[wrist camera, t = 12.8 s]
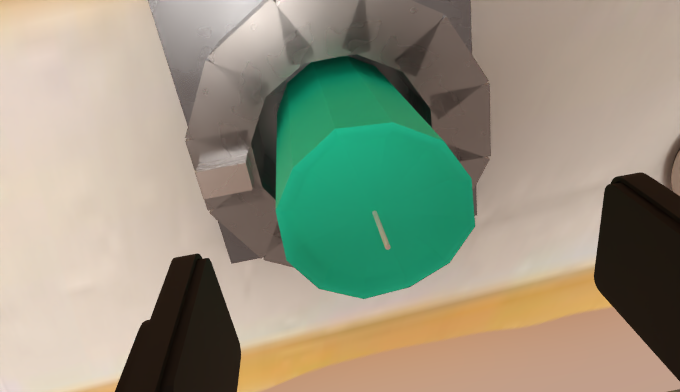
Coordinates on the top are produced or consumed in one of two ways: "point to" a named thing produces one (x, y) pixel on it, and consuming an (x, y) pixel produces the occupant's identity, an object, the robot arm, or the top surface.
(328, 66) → the candle
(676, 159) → the beverage can
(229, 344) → the robot arm
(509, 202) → the top surface
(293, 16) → the hub
